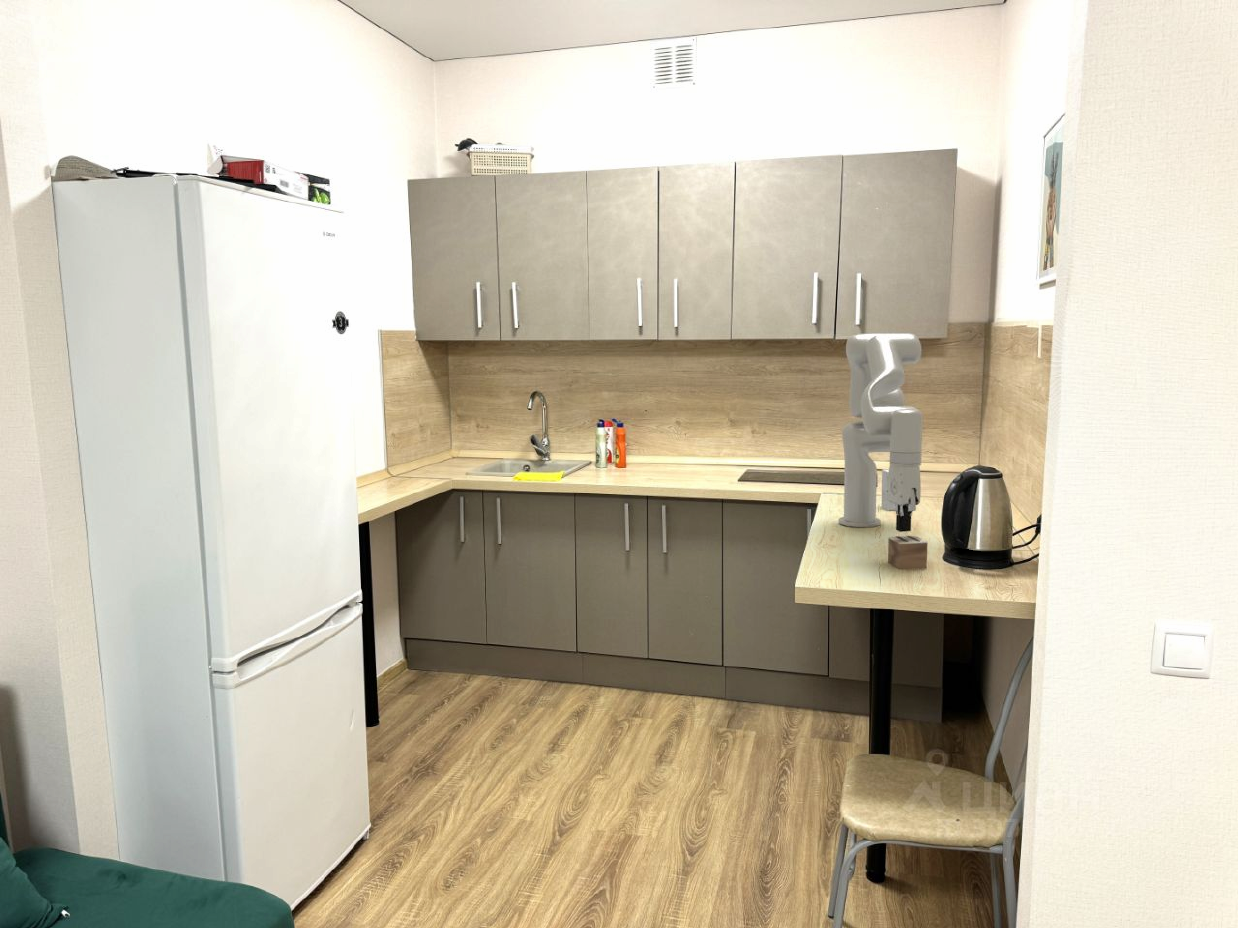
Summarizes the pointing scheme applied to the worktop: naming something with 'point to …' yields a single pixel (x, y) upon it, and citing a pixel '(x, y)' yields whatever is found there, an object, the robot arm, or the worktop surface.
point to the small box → (885, 502)
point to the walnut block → (907, 552)
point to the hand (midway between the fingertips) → (903, 530)
